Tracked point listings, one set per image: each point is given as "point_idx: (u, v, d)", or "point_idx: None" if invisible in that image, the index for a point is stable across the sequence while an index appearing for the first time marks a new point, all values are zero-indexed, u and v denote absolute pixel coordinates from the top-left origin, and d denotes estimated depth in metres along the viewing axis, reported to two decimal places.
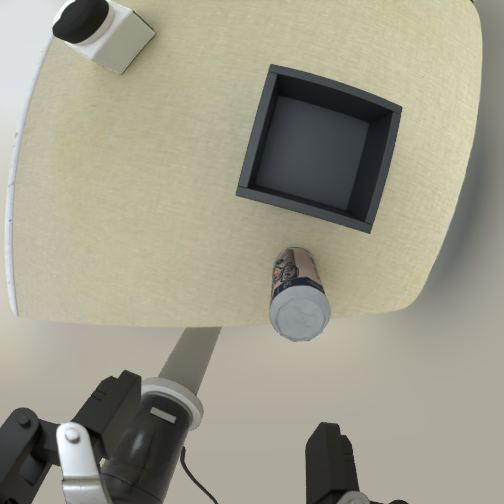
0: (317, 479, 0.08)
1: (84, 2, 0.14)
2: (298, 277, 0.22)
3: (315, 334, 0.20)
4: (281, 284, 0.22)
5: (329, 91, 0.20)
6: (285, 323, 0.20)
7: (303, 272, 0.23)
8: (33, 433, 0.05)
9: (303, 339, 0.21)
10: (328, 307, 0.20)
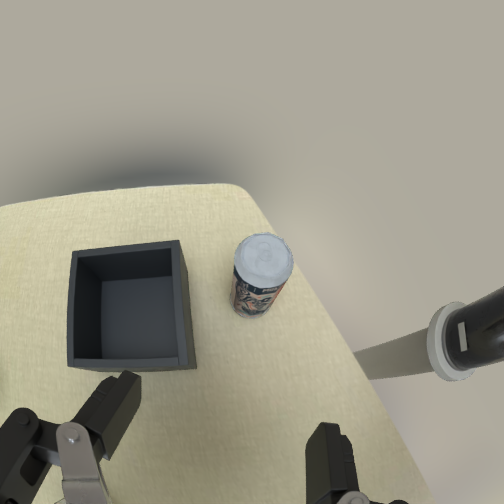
0: (317, 479, 0.08)
1: None
2: (237, 279, 0.23)
3: (274, 236, 0.22)
4: (249, 290, 0.23)
5: (79, 314, 0.23)
6: (276, 266, 0.21)
7: (234, 279, 0.25)
8: (33, 433, 0.05)
9: (284, 244, 0.22)
10: (246, 239, 0.23)
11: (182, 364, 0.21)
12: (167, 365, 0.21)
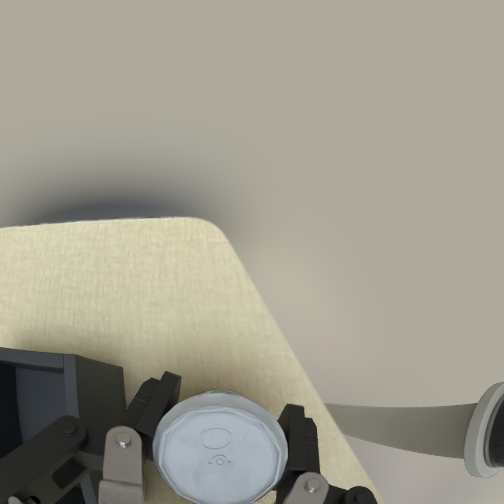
0: None
1: None
2: None
3: (244, 415, 0.08)
4: None
5: None
6: (243, 484, 0.07)
7: None
8: (81, 441, 0.06)
9: (268, 434, 0.07)
10: (177, 409, 0.08)
11: None
12: None
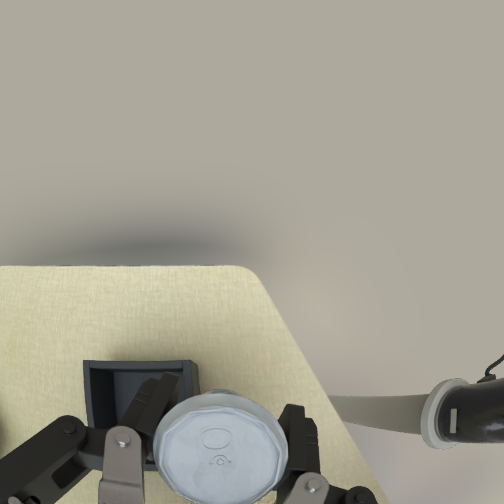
0: None
1: None
2: None
3: (244, 415, 0.08)
4: None
5: (98, 418, 0.21)
6: (244, 484, 0.07)
7: None
8: (81, 441, 0.06)
9: (268, 434, 0.07)
10: (177, 409, 0.08)
11: None
12: None
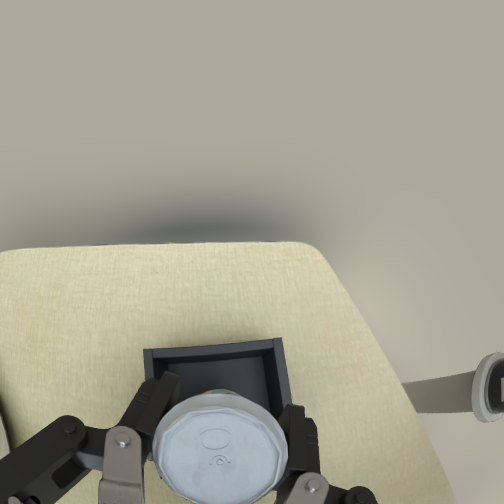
0: None
1: None
2: None
3: (244, 416, 0.08)
4: None
5: None
6: (243, 484, 0.07)
7: None
8: (81, 441, 0.06)
9: (268, 434, 0.07)
10: (177, 409, 0.08)
11: None
12: None
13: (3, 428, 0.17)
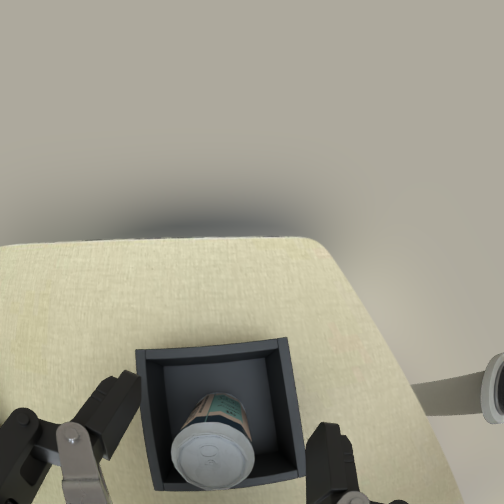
0: (317, 479, 0.08)
1: None
2: None
3: (225, 438, 0.12)
4: None
5: (156, 428, 0.17)
6: (225, 476, 0.11)
7: None
8: (33, 433, 0.05)
9: (239, 449, 0.12)
10: (185, 432, 0.13)
11: (302, 476, 0.15)
12: (285, 479, 0.15)
13: None
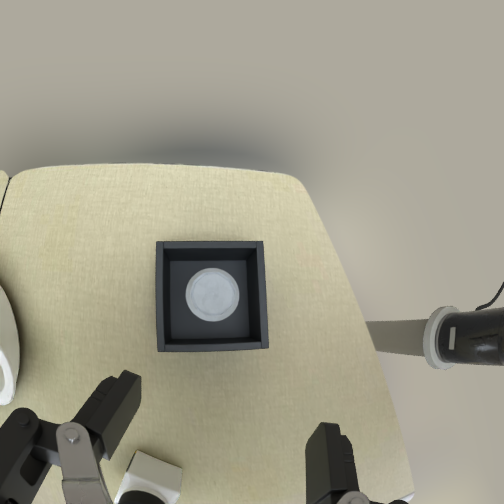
0: (317, 479, 0.08)
1: None
2: None
3: (223, 276, 0.24)
4: None
5: (164, 301, 0.29)
6: (220, 305, 0.24)
7: None
8: (33, 433, 0.05)
9: (231, 284, 0.24)
10: (198, 273, 0.25)
11: (264, 347, 0.28)
12: (252, 348, 0.28)
13: (16, 328, 0.27)
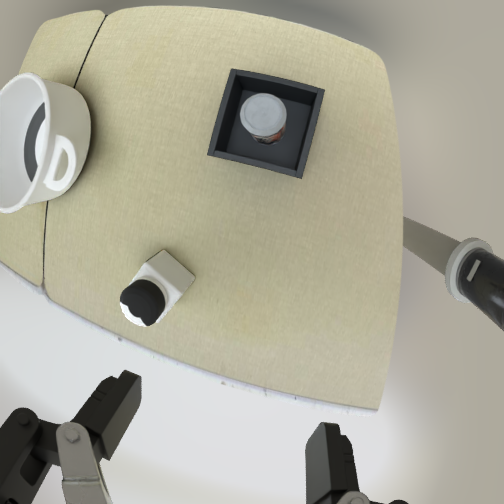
0: (317, 479, 0.08)
1: (132, 295, 0.34)
2: None
3: (276, 101, 0.25)
4: None
5: (225, 116, 0.31)
6: (266, 123, 0.26)
7: None
8: (33, 433, 0.05)
9: (280, 109, 0.25)
10: (256, 95, 0.26)
11: (297, 176, 0.32)
12: (287, 173, 0.32)
13: (90, 132, 0.37)
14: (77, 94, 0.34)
